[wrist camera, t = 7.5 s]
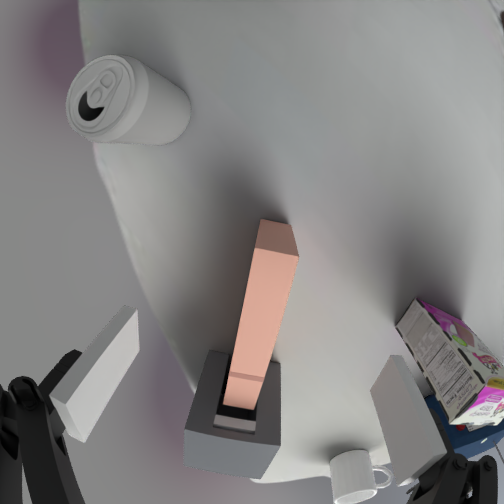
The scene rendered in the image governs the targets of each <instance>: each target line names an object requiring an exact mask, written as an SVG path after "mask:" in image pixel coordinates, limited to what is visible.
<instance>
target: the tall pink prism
mask: <svg viewBox="0 0 504 504" xmlns="http://www.w3.org/2000/svg"><path fill="white" fill-rule="evenodd" d="M298 259H299V254H298V250H297V246H296V242H295V238H294V234H293V231H292V227H291V225H288V224H284V223H279V222H274V221H269V220H264V219H260V224H259V229H258V234H257V239H256V244H255V249H254V254H253V259H252V264H251V269H250V274H249V279H248V284H247V289H246V294H245V298H244V303H243V308H242V313H241V317H240V322H239V327H238V332H237V337H236V342H235V347H234V352H233V357H232V361H231V366H230V371H229V377H228V382H227V387H226V392H225V397H224V402H223V404H224V405H229V406H234V407H240V408H245V409H251V410H254V408H255V405H256V402H257V399H258V396H259V393H260V390H261V387H262V384H263V381H264V378H265V374H266V371H267V368H268V365H269V361H270V358H271V355H272V352H273V348H274V345H275V342H276V338H277V335H278V332H279V328H280V325H281V321H282V318H283V314H284V311H285V307H286V304H287V300H288V297H289V293H290V289H291V286H292V282H293V278H294V275H295V271H296V267H297V263H298Z"/></svg>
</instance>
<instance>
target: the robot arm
mask: <svg viewBox="0 0 504 504" xmlns="http://www.w3.org/2000/svg"><path fill="white" fill-rule="evenodd" d="M138 352H139V333H138V309H136V308H132V307H129V306H126V305H124V306H123V307H122V308H121V309H120V310H119V312H118V313H117V314H116V315H115V316H114V317H113V318H112V320H111V321H110V322H109V323H108V324H107V325H106V326H105V328H104V329H103V330H102V331H101V332H100V333H99V335H98V336H97V337H96V338H95V339H94V340H93V341H92V343H91V344H90V345H89V346H88V348H87V349H86V350H85V351H84V352H83V353H82V352H80V351H77V350H75V349H74V350H72V351H71V352H69V353H67V354H65V356H63V357H62V359H61V360H60V361H59V363H57V364H56V366H55V367H54V369H52V370H51V371H50V373H49V374H48V375H47V376H46V377H45V378H44V380H43V381H42V382H41V383H40V385H39V386H37V384H36V383H35V381H34V380H33V379H31V378H29V377H25V376H21V377H17V378H15V379H13V380H12V381H11V383H10V384H9V386H8V392H7V391H4V390H3V388H2V386H1V384H0V504H23V503H22V463H23V467H24V473H25V477H26V482H27V485H28V490H29V493H30V497H31V500H32V504H85V502H84V500H83V497H82V495H81V492H80V489H79V487H78V484H77V481H76V478H75V475H74V472H73V469H72V466H71V462H70V459H69V456H68V452H67V448H66V445H65V441H64V437H63V435H62V433H63V432H64V430H65V429H66V430H67V432H68V434H69V435H70V436H72V437H74V438H76V439H78V440H80V441H82V442H84V443H85V441H86V440H87V438H88V436H89V434H90V432H91V431H92V429H93V427H94V425H95V424H96V422H97V420H98V418H99V417H100V415H101V413H102V411H103V410H104V408H105V406H106V405H107V403H108V401H109V400H110V398H111V396H112V395H113V393H114V391H115V389H116V388H117V386H118V384H119V383H120V381H121V380H122V378H123V376H124V375H125V373H126V371H127V370H128V368H129V366H130V365H131V363H132V362H133V360H134V358H135V357H136V355H137V354H138ZM370 392H371V395H372V398H373V401H374V405H375V408H376V411H377V414H378V417H379V421H380V424H381V427H382V431H383V434H384V438H385V441H386V445H387V448H388V452H389V456H390V460H391V463H392V467H393V471H394V475H395V479H396V483H397V486H402V485H407V484H411V483H412V482H413V481H414V480H416V479H417V478H418V479H419V483H418V484H416V485H415V486H414V487H412V488H411V489H409V490H408V491H407V494H408V493H410V492H411V491H413V492H412V494H411V496H410V498H409V500H408V502H407V504H497V497H498V479H497V478H498V476H497V463H496V461H495V459H494V458H493V457H492V456H489V455H485V456H483V457H482V458H481V459H480V460H479V461H468V460H467V459H466V457H465V456H464V455H462V454H459V453H455V452H454V449H453V447H452V445H451V442H450V440H449V438H448V435H447V433H446V431H444V426H443V424H442V422H441V420H440V418H439V416H438V414H437V413H436V412H435V411H434V410H433V409H432V408H429V409H428V407H427V405H426V402H425V400H424V398H423V396H422V394H421V392H420V390H419V388H418V386H417V384H416V382H415V380H414V378H413V376H412V374H411V372H410V370H409V368H408V366H407V364H406V362H405V360H404V358H403V357H402V356H399V355H390V357H389V359H388V361H387V363H386V364H385V366H384V368H383V370H382V371H381V373H380V375H379V376H378V378H377V380H376V381H375V383H374V385H373V386H372V388H371V390H370ZM471 491H472V496H471V497H470V498H469V496H468V495H469V493H470V492H471Z"/></svg>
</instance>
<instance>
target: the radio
mask: <svg viewBox="0 0 504 504" xmlns="http://www.w3.org/2000/svg"><path fill="white" fill-rule="evenodd" d="M425 402H426V405H427V407H428V409H429V408H432V409H433V410H434V411H435V412H436V413H437V414H438V416H439V418H440V420H441V422H442V424H443V426H444V431H446V433H447V435H448V438H449V440H450V442H451V445H452V447H453V449H454V452H455V453H459V454H462V455H464V456H465V457H466V459H468V458H470V457H473V456H475V455H477V454H479V453H482V452H484V451H486V450H488V449H491V448H493V447H494V446H495V447H496V449H497V451H498V453H499V455H500V457H501V459H502V461H503V463H504V460H503V458H502V455H501V453H500V452H499V449H498V447H497V445H496V444H497V443H498V442H499V441H500V440H501V439H502V438H503V437H504V419H503V420H502V421H501V422H500V423H499V424H498V425H458V424H449V422H448V420H447V418H446V416H445V414H444V412H443V409H442V408H441V405H440V404H439V402H438V400H437V398H436V396H435V395H429V396H428V397H427V398H426V399H425Z"/></svg>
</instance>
